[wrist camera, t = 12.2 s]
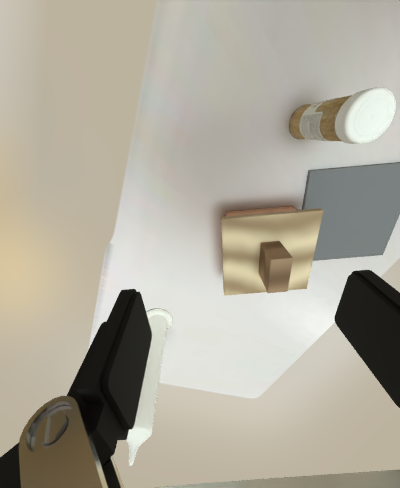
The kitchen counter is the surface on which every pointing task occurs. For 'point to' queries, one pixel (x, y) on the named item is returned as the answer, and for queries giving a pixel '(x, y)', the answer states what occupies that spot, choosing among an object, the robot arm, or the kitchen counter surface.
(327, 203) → the mat
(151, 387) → the candle
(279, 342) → the kitchen counter surface
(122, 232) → the kitchen counter surface
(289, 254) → the lid
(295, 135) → the sprinkles bottle
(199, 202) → the kitchen counter surface
